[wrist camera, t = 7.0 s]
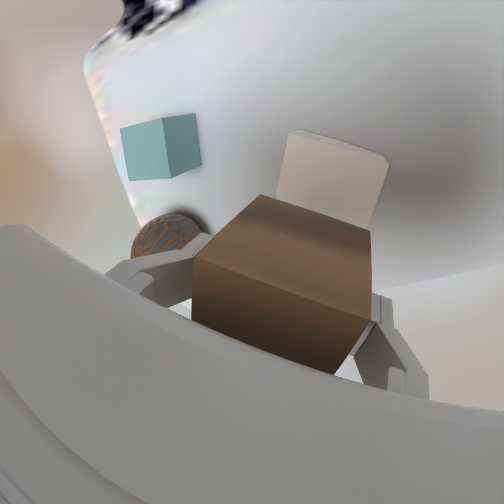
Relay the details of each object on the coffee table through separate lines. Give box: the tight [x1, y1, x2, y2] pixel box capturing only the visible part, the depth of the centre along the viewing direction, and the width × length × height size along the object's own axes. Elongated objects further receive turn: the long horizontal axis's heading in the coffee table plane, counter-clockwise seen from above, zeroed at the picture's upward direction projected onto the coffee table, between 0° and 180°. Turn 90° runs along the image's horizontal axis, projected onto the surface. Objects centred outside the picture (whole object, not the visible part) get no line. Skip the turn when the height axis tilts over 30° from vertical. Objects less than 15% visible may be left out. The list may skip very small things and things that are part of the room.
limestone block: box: [274, 129, 390, 230], centre depth 20 cm, size 7×7×4 cm
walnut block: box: [191, 194, 372, 375], centre depth 9 cm, size 4×4×5 cm
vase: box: [130, 214, 202, 259], centre depth 26 cm, size 7×7×9 cm
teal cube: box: [120, 114, 202, 181], centre depth 23 cm, size 5×5×5 cm
